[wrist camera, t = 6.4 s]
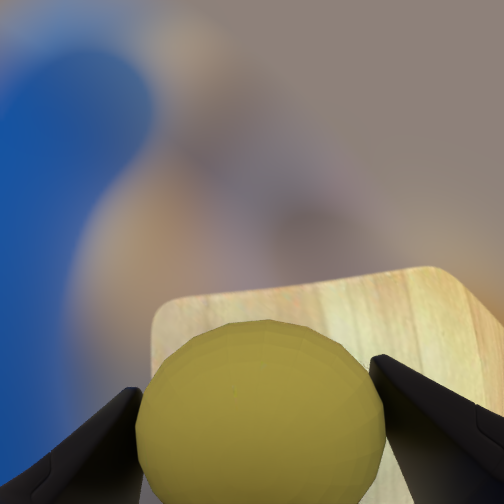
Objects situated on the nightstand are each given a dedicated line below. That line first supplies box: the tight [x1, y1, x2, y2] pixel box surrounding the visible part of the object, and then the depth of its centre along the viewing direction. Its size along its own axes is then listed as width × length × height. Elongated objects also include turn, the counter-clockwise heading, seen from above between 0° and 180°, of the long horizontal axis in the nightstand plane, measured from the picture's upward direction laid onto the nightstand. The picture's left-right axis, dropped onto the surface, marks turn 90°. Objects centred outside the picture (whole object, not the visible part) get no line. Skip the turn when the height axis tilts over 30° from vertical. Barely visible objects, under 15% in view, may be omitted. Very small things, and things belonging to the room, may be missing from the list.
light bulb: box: [135, 320, 386, 504], centre depth 8 cm, size 7×7×10 cm
